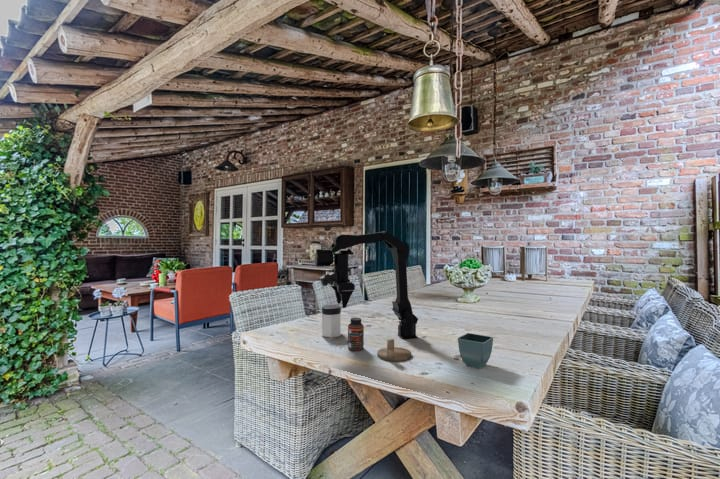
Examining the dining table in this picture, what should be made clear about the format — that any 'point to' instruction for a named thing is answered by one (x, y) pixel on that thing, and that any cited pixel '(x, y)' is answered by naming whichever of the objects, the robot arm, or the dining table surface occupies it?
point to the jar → (331, 321)
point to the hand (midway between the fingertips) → (341, 305)
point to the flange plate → (397, 354)
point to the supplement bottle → (355, 335)
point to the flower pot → (475, 349)
